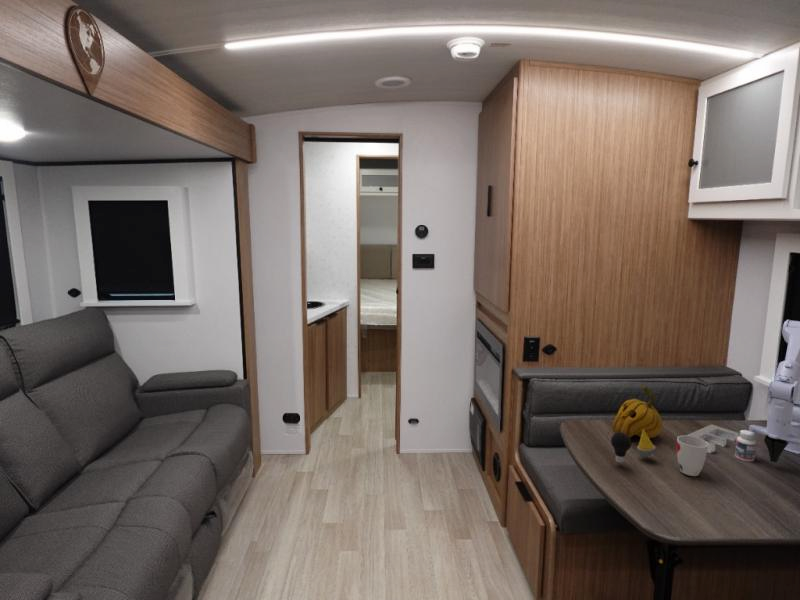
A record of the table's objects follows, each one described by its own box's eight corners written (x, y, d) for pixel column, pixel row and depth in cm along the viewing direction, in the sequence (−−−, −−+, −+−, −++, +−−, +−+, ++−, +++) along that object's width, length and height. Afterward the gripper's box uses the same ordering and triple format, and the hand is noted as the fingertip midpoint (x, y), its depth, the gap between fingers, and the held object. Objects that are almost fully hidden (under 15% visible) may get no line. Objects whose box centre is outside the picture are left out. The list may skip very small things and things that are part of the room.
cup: (678, 462, 152) (681, 433, 151) (708, 472, 147) (711, 441, 145) (670, 471, 147) (673, 441, 145) (700, 481, 141) (704, 449, 139)
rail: (710, 430, 177) (711, 424, 177) (737, 439, 170) (738, 433, 169) (682, 443, 166) (683, 436, 166) (710, 453, 159) (711, 446, 159)
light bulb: (606, 463, 152) (608, 433, 150) (613, 456, 156) (615, 427, 155) (626, 469, 148) (628, 438, 146) (632, 462, 152) (634, 433, 151)
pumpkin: (649, 459, 167) (685, 414, 165) (618, 436, 163) (655, 390, 161) (624, 440, 180) (658, 398, 179) (595, 419, 176) (629, 376, 175)
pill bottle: (730, 454, 159) (733, 428, 157) (747, 454, 158) (749, 429, 157) (741, 461, 153) (744, 435, 152) (758, 462, 153) (761, 435, 152)
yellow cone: (659, 460, 152) (654, 431, 151) (641, 462, 153) (636, 433, 152) (654, 453, 157) (649, 424, 156) (636, 455, 159) (632, 426, 158)
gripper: (746, 414, 151) (741, 454, 153) (803, 430, 139) (797, 474, 141) (756, 410, 155) (751, 449, 157) (812, 425, 143) (806, 467, 145)
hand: (774, 460), depth 149 cm, fingers closed
